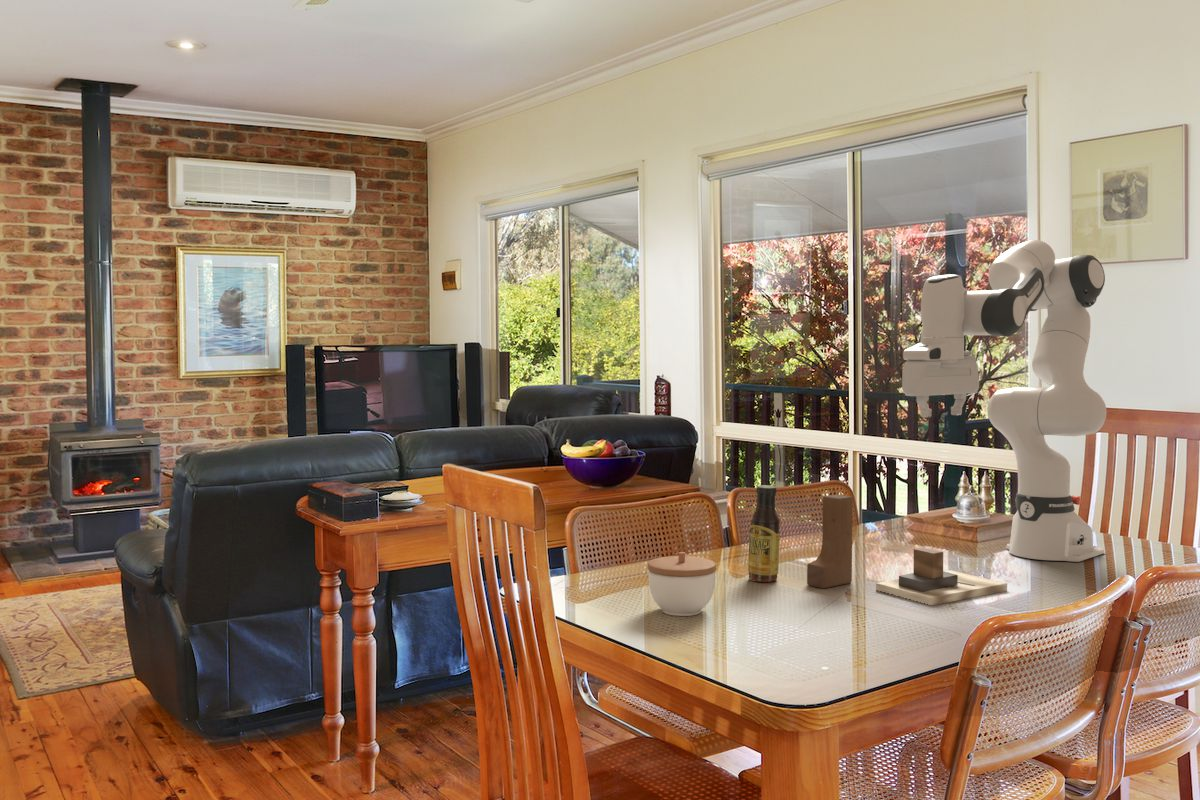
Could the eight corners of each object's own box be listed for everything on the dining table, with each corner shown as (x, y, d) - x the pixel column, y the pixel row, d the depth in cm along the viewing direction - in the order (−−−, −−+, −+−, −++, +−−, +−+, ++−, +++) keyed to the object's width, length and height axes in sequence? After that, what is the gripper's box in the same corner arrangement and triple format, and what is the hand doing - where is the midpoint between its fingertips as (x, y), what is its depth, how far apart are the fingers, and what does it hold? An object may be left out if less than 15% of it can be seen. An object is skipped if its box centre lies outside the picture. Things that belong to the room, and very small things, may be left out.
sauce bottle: (742, 580, 219) (742, 486, 218) (759, 575, 224) (759, 483, 222) (768, 585, 215) (769, 489, 213) (785, 580, 219) (786, 485, 218)
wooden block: (823, 589, 211) (823, 500, 210) (806, 585, 214) (806, 498, 213) (852, 583, 216) (853, 496, 215) (835, 579, 220) (836, 494, 219)
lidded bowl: (647, 602, 201) (647, 545, 200) (712, 602, 201) (713, 545, 200) (648, 620, 188) (648, 559, 188) (718, 620, 188) (718, 559, 187)
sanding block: (933, 578, 212) (933, 544, 212) (957, 584, 207) (957, 549, 207) (898, 585, 207) (898, 550, 207) (922, 592, 202) (922, 556, 201)
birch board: (950, 577, 221) (950, 569, 221) (1007, 590, 209) (1007, 582, 209) (875, 590, 210) (876, 582, 209) (931, 605, 198) (931, 597, 198)
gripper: (963, 350, 230) (962, 413, 231) (897, 351, 219) (896, 417, 220) (986, 350, 225) (986, 414, 226) (920, 352, 214) (920, 419, 215)
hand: (941, 416), depth 223 cm, fingers open, 8 cm apart
